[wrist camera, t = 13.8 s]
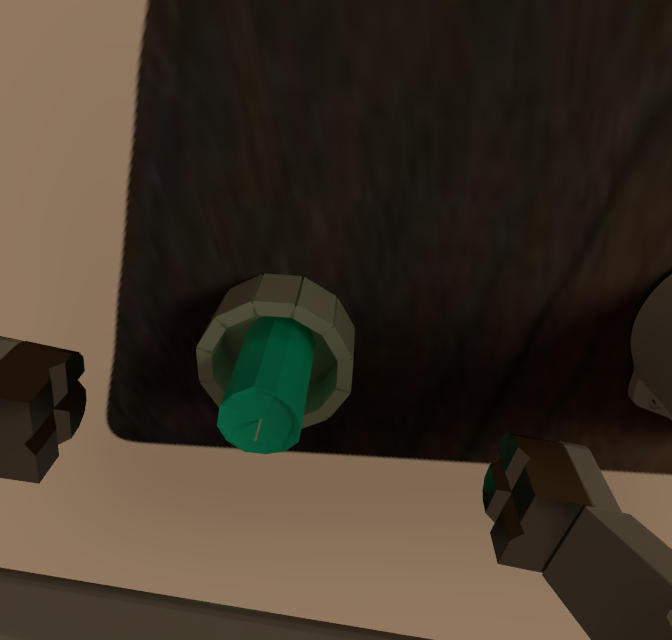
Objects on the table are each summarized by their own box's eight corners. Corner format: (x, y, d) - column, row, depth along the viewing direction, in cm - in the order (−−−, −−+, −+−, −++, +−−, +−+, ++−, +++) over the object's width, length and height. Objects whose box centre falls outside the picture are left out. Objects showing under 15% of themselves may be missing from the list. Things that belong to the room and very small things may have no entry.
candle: (327, 330, 45) (314, 426, 34) (298, 381, 47) (279, 483, 37) (261, 301, 44) (228, 391, 33) (236, 355, 46) (198, 453, 36)
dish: (382, 323, 45) (383, 354, 41) (306, 415, 50) (301, 451, 46) (254, 247, 42) (242, 272, 38) (189, 353, 48) (172, 385, 43)
